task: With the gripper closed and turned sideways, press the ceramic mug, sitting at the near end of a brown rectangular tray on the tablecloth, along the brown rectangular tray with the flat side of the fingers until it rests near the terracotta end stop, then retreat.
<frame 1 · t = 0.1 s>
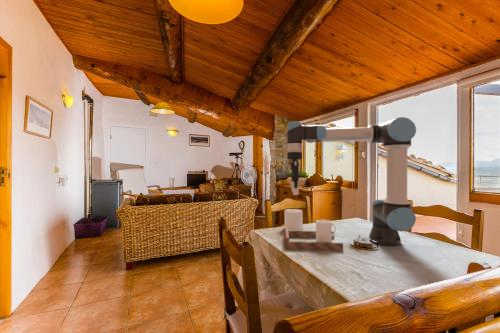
hand: (294, 193, 123), 28 cm above the table, fingers open, 13 cm apart
brown rectangular tray: (311, 242, 129), on the table
mug: (326, 243, 128), on the table
cup: (293, 229, 157), on the table
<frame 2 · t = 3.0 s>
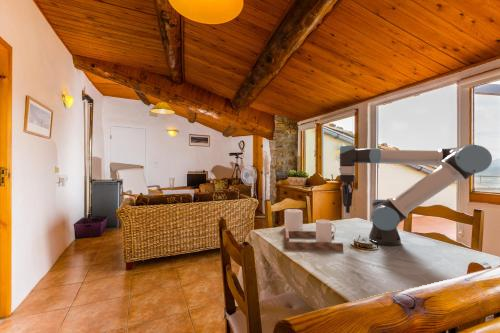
hand: (347, 218, 127), 14 cm above the table, fingers closed
nothing on the table moved.
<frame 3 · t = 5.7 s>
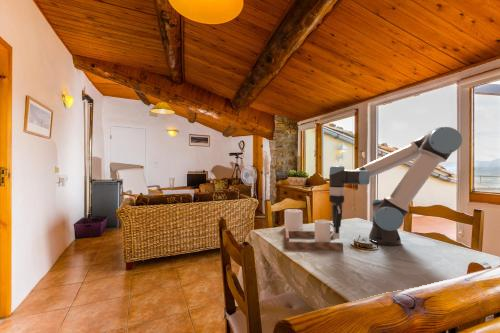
hand: (336, 238, 128), 3 cm above the table, fingers closed
mug: (325, 243, 128), on the table, touching gripper
everything else where it was.
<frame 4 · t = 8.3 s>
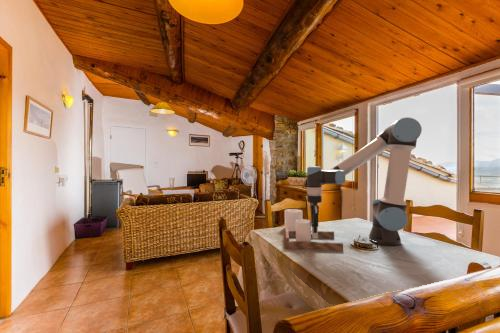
hand: (315, 238, 129), 3 cm above the table, fingers closed
mug: (305, 242, 130), on the table, touching gripper, hand
everything else where it was.
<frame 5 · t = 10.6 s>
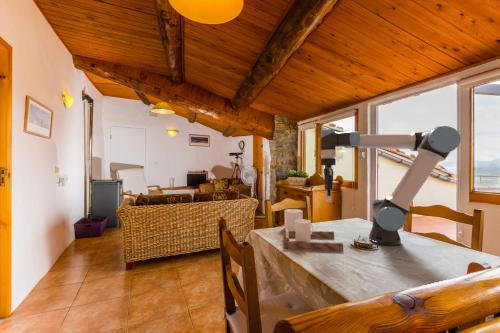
hand: (328, 201, 128), 22 cm above the table, fingers closed
mug: (305, 242, 130), on the table
everything else where it was.
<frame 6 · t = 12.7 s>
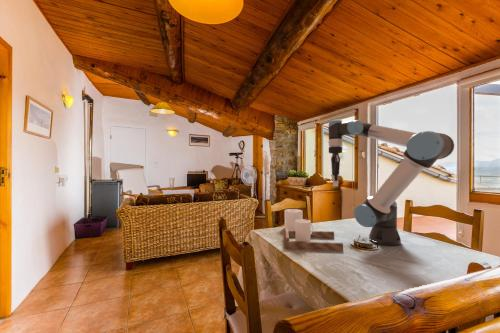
hand: (335, 186, 141), 29 cm above the table, fingers closed
nothing on the table moved.
at the end: mug inside the target area (2.6 cm from its centre), on the table; mug tilted 0°; mug moved 11.2 cm from its start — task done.
